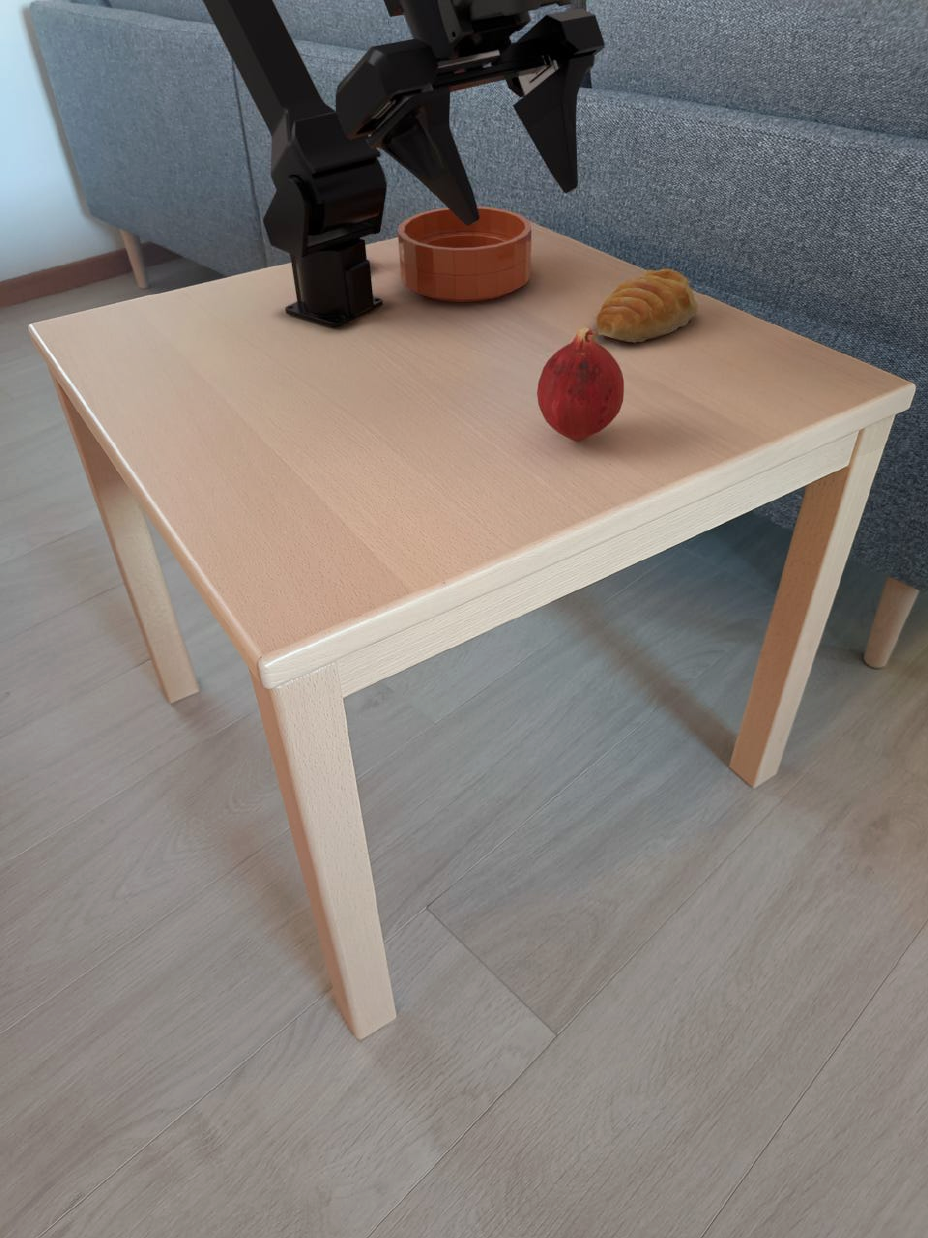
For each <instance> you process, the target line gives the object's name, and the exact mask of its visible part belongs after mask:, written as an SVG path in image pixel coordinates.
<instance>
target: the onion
mask: <svg viewBox="0 0 928 1238" xmlns="http://www.w3.org/2000/svg"><path fill="white" fill-rule="evenodd" d="M595 336H596V331H594V330H593V329H591V327H588V326H584V327H582V328H579V329H578V330H577V334H576V335H575V337H574V339H573V340H572V341H571V342H570V343H568V344H566V345H564V346H562V347H561V348H559V350H557V351H556V352H554V353H553V354H552V355H551V357H549V359H548V360H547V361H546V363H545V364H544V366H543V368H542V371H541V374H540V376H539V380H538V383H537V391H536V397H537V404H538V407H539V410H540V412H541V414H542V416H543V418H544V420H545V422H546V423H547V425H549V427H551V428H552V429H553V430H554V431H555V432H557V433H558V434H560V435H561V436H564V437H565V438H567V439H569V440H571V441H574V442H582V441H584V440H586V439H589V438H590V437H592V436H594V435H596V434H598V433H600V432H602V431H603V430H604V429H605V428H607V427H608V426H609V425H610V424H611V423H612V422H613V421H614V419H615V418H616V417H617V416H618V414H619V413H620V412H621V408H622V406H623V403H624V395H625V394H624V393H625V380H624V376H623V371H622V369H621V367H620V365H619V363H618V362H617V360H616V359H615V357H614V356H613V355H612V354H611V352H609V350H608V349H606V348H605V347H604V346H602V345H601V344H599V343H598V342H596V340H595Z"/></svg>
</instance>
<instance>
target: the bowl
mask: <svg viewBox="0 0 928 1238" xmlns="http://www.w3.org/2000/svg"><path fill="white" fill-rule="evenodd" d="M477 208H478V212H479V216H480V218H479V220H478V221H477V222H476V223H474V224H473V225H470V226H467V225H465V224H464V223H463V222H462V221H461V220H460V219H459V218H458V217H457V216H456V215H455V214H454V213H453V212H452V211H451V210H450V209H449V208H448V207H441V208H435V209H430V210H425V211H422V212H419V213H417V214H415V215H412V216H410V217H407V218H405V220H403V221H402V222H400V224H399V225H398V229H397V240H398V241H397V242H398V253H399V254H398V255H399V268H400V269H399V270H400V279H401V282H402V284H404V286H405V287H406V288H408V289H409V290H411V291H413V292H414V293H417V294H418V295H423V296H424V297H427V298H431V299H433V300H438V301H443V302H452V303H471V302H473V303H474V302H482V301H487V300H492V299H496V298H500V297H502V296H505V295H507V294H509V293H512V292H514V291H516V290H517V289H519V288H521V287H523V286H524V285H526V283H527V282H528V281H529V280H530V278H531V271H532V267H531V265H532V223H531V221H530V220H529V219H528V218H527V217H525V216H524V215H522V214H520V213H517V212H514V211H511V210H507V209H504V208H498V207H493V206H492V207H491V206H479V205H477Z"/></svg>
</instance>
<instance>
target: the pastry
mask: <svg viewBox="0 0 928 1238" xmlns="http://www.w3.org/2000/svg"><path fill="white" fill-rule="evenodd" d="M693 291H694V290H692V288H691V286H690V282H689V279H688V278H687V277H686V276H685V275H684V274H682V273H680V272H679V271H677V270H674V269H671V268H662V269H659V270H654V269H648V270H647V271H646V273H644V274H641V275H640V276H638V277H636V278H633V279H629V280H626V281H624V282H622V283H621V284H619V285H618V286H617V288H616V289H615V290H614V291H613V292H612V293H611V294H610V295H609V296H608V297H607V298H606V300H605V301H604V303H603V304H602V305H601V309H600V311H599V313H598V314H597V316H596V326H597V327H596V328H597V335H599V336H605V337H607V338H608V337H609V338H610V339H616V340H619V341H623V342H628V343H633V344H636V343H638V342H639V343H644V342H645V341H646V340H650V339H658V338H660V337H662V336H665V335H668V334H671V333H672V332H675V331H677V329H678V328H680V327H681V328H683V327H684V326H686V325H688V324H689V321H690V320H692V318H693V317H694V315H695V314H696V313H697V312H698V309H699V304H698V301H697V300H696V299H695V293H694V292H693Z"/></svg>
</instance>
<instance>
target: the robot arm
mask: <svg viewBox="0 0 928 1238" xmlns="http://www.w3.org/2000/svg"><path fill="white" fill-rule="evenodd" d="M202 3H203V5H204V6H205V8H206V10H207V12H208V14H209V16H210V18H211V21H212V22H213V24H214V26H215V28H216V30H217V32H218V33H219V35H220V38H221V40H222V41H223V44H224V46H225V47H226V49H227V51H228V53H229V55H230V57H231V60H232V61H233V63H234V64H235V67H236V69H237V71H238V73H239V74H240V77H241V78H242V80H243V83H244V84H245V86H246V88H247V91H248V92H249V94H250V97H251V99H252V100H253V102H254V104H255V106H256V108H257V110H258V112H259V113H260V116H261V118H262V119H263V121H264V123H265V125H266V128H267V129H268V132H269V134H270V136H271V149H270V171H269V172H270V173H269V174H270V178H271V180H272V182H273V185H274V187H275V190H276V191H275V192H274V195H273V197H272V199H271V202H270V203H269V205H268V207H267V210H266V212H265V214H264V216H263V217H262V223H263V227H264V229H265V232H266V235H267V238H268V241H269V244H270V246H271V247H274V248H276V249H278V250H280V251H283V252H285V253H288V254H289V258H290V264H291V265H290V266H291V271H292V277H293V284H294V289H295V290H294V291H295V297H296V301H295V302H293V303H291V304H289V305H287V306H286V307H284V310H285V314H287V315H290V316H293V317H296V318H300V319H303V320H306V321H309V322H313V323H316V324H320V325H323V326H326V327H330V328H333V329H340V328H342V327H343V326H345V325H348V324H349V323H351V322H353V321H355V320H357V319H359V318H361V317H363V316H365V315H366V314H369V313H371V312H373V311H374V310H376V309H379V308H380V307H382V306H383V305H384V301H383V298H381V297H377V296H374V292H373V290H374V289H373V281H372V280H373V279H372V271H371V261H370V260H369V259H367V258H368V257H367V246H366V240H365V239H364V237H367V236H371V235H378V234H380V233H381V231H382V222H383V216H384V211H385V210H384V209H385V205H386V204H385V203H386V196H387V189H388V186H387V185H388V184H387V177H386V174H385V171H384V168H383V166H382V164H381V162H380V160H379V158H380V157H381V155H382V153H381V151H380V150H379V149H381V150H382V151H383V152H384V153H386V154H387V155H388V156H390V158H392V159H393V160H394V161H396V162H397V163H398V164H399V165H400V166H402V167H403V168H405V169H406V171H408V172H409V173H411V175H412V176H414V177H415V178H416V179H417V180H418V181H420V183H422V184H423V186H425V187H426V188H427V189H428V190H429V191H430V193H432V194H433V195H434V196H435V197H436V198H437V199H438V200H439V201H440V202H441V203H442V204H443V205H445V207H446V208H449V209H450V210H451V211H452V212H453V213H454V214H455V215H456V216H457V217H458V218H459V219H460V220H461V221H462V222H463V223H464V224H465V225H467V226H470V225H473V224H474V223H476V222H477V221H478V220H479V218H480V216H479V212H478V208H477V206H478V204H477V201H476V197H475V194H474V191H473V188H472V184H471V181H470V180H469V177H468V174H467V172H466V169H465V166H464V162H463V160H462V158H461V154H460V152H459V149H458V146H457V144H456V140H455V138H454V136H453V133H452V130H451V125H450V115H451V114H450V113H451V93H453V92H457V91H462V90H466V89H471V88H475V87H479V86H480V87H481V86H483V85H488V84H493V83H497V82H501V81H502V82H503V81H505V83H506V85H507V88H508V89H509V90H510V91H511V92H513V93H514V94H515V95H517V97H519V98H520V99H519V100H518V101H516V102H515V103H514V104H513V105H512V107H513V110H514V111H515V113H516V115H517V117H518V118H519V120H520V122H521V123H522V126H523V127H524V129H525V130H526V132H527V134H528V135H529V137H530V139H531V141H532V143H533V145H534V146H535V148H536V151H538V153H539V155H540V157H541V158H542V160H543V162H544V164H545V165H546V167H547V169H548V171H549V172H550V174H551V176H552V177H553V179H554V180H555V182H556V183H557V185H558V186H559V187H560V189H561V191H562V192H563V193H564V194H569V193H571V192H572V191H574V190H576V189H577V188H578V186H579V169H578V168H579V165H578V135H577V107H578V96H579V91H580V88H581V86H582V83H583V81H584V78H585V75H586V73H588V72H589V71H590V70H592V69H593V68H594V67H595V62H596V55H598V54H599V53H600V52H601V51H603V50H604V49H606V43H605V40H604V37H603V35H602V31H601V27H600V25H599V22H598V20H597V16H596V14H595V13H592V12H590V11H588V10H585V9H583V8H576V9H569V10H565V11H559V12H554V13H553V12H552V13H548V14H545V15H544V16H543V17H542V18H540V20H539V21H537V22H536V23H535V24H534V25H533V26H532V27H530V29H529V30H528V31H526V32H525V33H524V34H523V35H522V36H521V37H520V38H519V39H517V40H516V41H515V42H512V39H511V37H512V35H513V34H514V33H516V32H520V31H522V30H523V29H524V28H525V27H526V26H527V25H528V24H529V23H531V21H532V18H531V16H530V13H529V12H530V11H537V10H539V9H541V8H544V7H548V6H552V5H557V6H558V7H564V6H569V5H572V4H573V0H383V3H384V6H385V8H386V11H387V14H388V16H389V18H392V17H400V16H403V17H404V20H405V23H406V25H407V28H408V30H409V32H410V36H411V38H412V39H410V38H409V39H405V40H400V41H395V42H389V43H383V44H378V45H374V46H373V45H372V46H371V47H369V49H368V50H367V51H366V52H365V54H363V56H362V57H361V58H360V59H359V60H358V61H357V63H356V64H355V65H354V66H353V67H352V69H351V70H350V71H349V72H348V73H347V74H346V75H345V77H344V78H343V79H342V80H341V81H340V82H339V84H338V85H337V86H336V91H335V109H333V108H332V107H331V106H330V105H328V104H327V103H326V102H325V101H324V99H323V97H322V95H321V94H320V92H319V90H318V88H317V86H316V84H315V82H314V80H313V77H312V75H311V73H310V71H309V70H308V68H307V65H306V64H305V62H304V60H303V57H302V55H301V53H300V51H299V50H298V48H297V46H296V44H295V42H294V39H293V38H292V36H291V33H290V32H289V29H288V28H287V26H286V24H285V22H284V19H283V18H282V15H281V14H280V11H279V10H278V8H277V6H276V4H275V2H274V0H202ZM489 64H490V65H489ZM488 65H489V66H488Z"/></svg>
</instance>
